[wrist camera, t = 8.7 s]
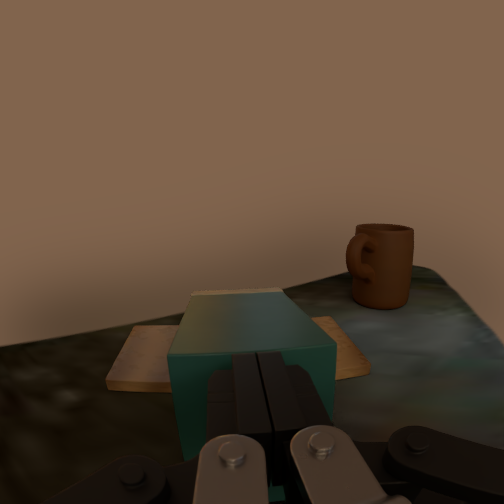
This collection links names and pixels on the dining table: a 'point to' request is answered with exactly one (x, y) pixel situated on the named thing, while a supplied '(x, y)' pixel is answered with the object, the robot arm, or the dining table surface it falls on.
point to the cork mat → (160, 339)
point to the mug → (381, 265)
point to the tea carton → (241, 341)
